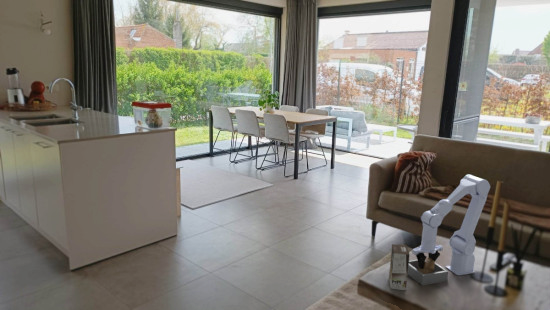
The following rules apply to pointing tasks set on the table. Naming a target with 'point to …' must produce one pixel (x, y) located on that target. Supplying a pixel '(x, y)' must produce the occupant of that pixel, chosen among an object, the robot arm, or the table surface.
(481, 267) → the table surface
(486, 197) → the robot arm
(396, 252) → the coffee box
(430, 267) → the tan block
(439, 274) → the gray bin
